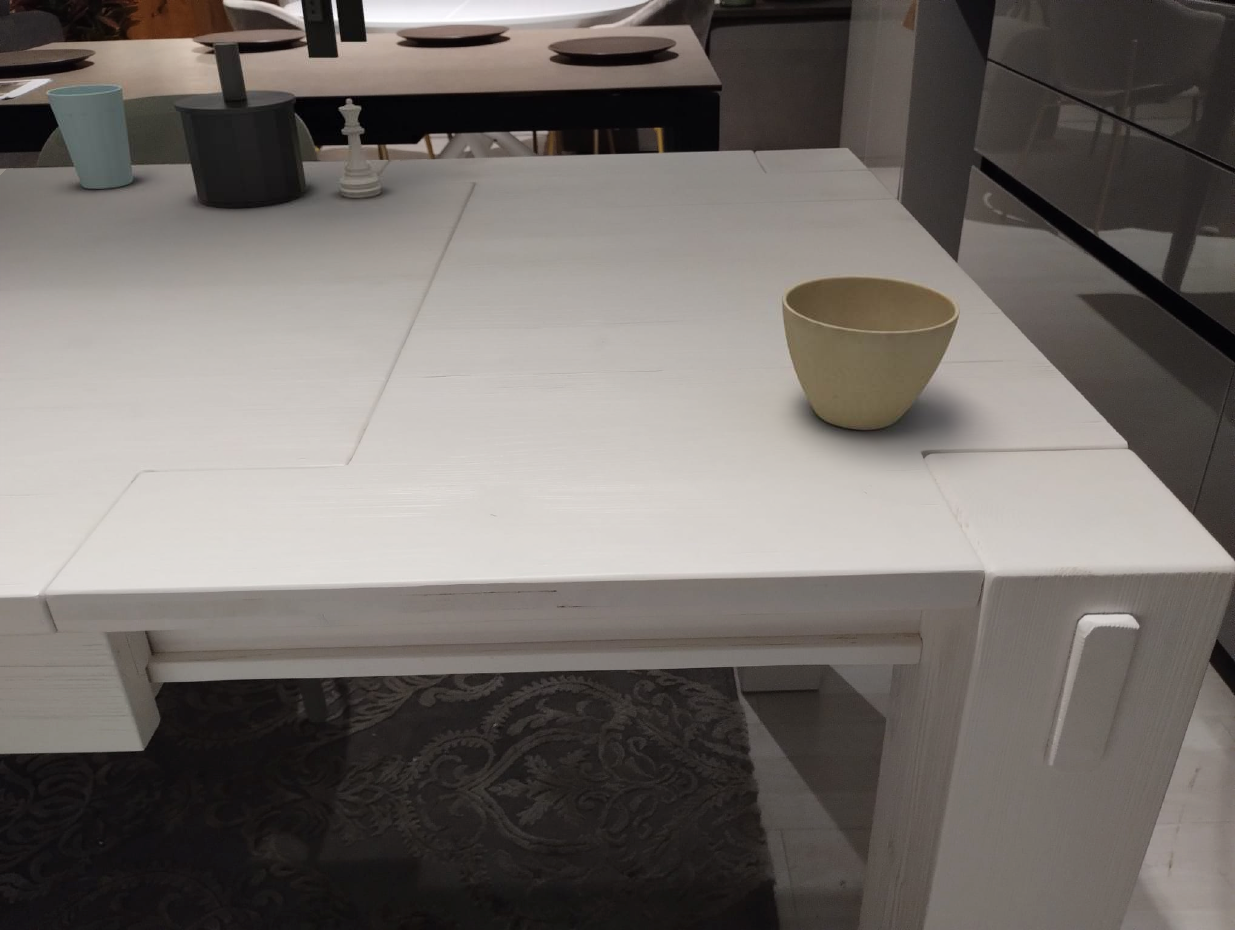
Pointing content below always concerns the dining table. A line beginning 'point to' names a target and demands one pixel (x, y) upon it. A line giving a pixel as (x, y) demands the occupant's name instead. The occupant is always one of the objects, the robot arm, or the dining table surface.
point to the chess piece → (356, 159)
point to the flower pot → (866, 345)
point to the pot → (245, 158)
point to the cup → (94, 133)
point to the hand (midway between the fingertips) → (339, 49)
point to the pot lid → (233, 90)
